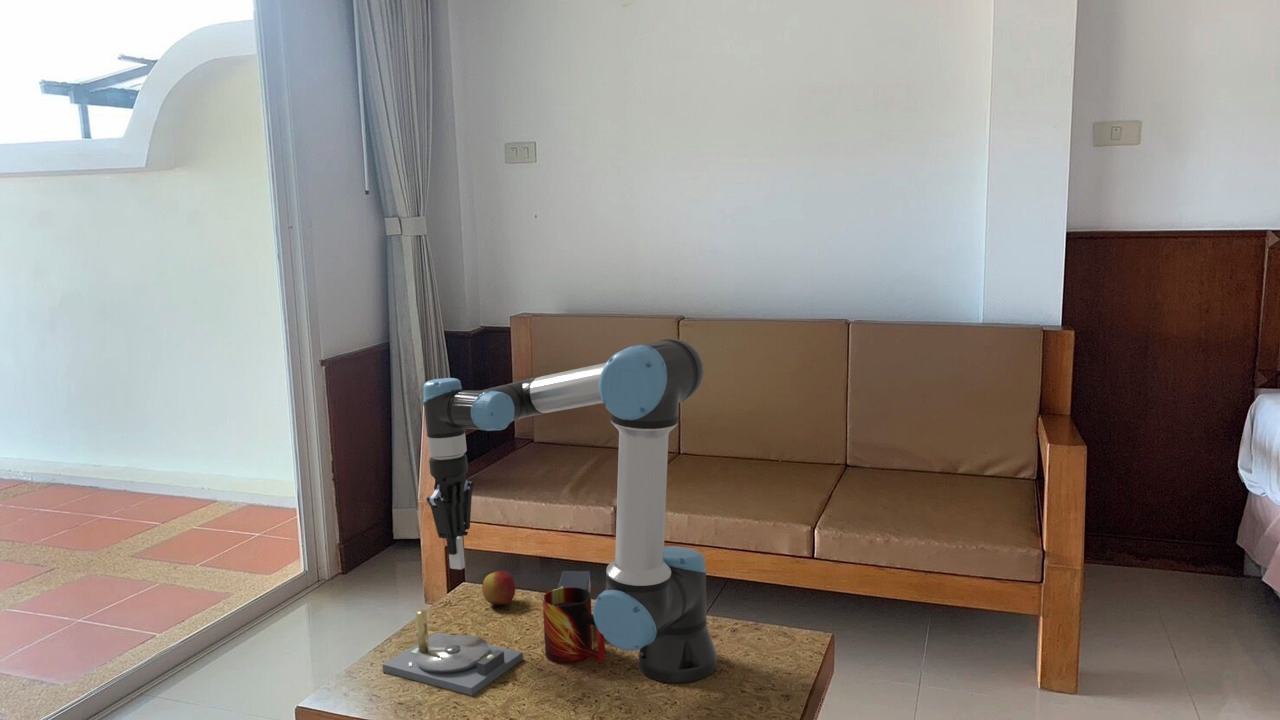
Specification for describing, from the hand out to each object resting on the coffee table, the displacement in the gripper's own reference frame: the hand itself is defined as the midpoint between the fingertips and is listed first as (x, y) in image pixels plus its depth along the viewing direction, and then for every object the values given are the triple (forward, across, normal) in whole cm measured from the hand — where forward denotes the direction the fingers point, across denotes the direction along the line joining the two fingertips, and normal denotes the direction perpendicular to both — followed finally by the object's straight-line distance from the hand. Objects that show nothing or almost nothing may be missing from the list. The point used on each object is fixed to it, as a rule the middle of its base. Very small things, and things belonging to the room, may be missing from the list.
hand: (457, 567), depth 190 cm
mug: (+18, -5, +24) cm, 31 cm away
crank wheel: (+15, +8, +4) cm, 17 cm away
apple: (+17, -20, -5) cm, 27 cm away
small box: (+17, -17, +17) cm, 30 cm away
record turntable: (+17, +8, +4) cm, 19 cm away
